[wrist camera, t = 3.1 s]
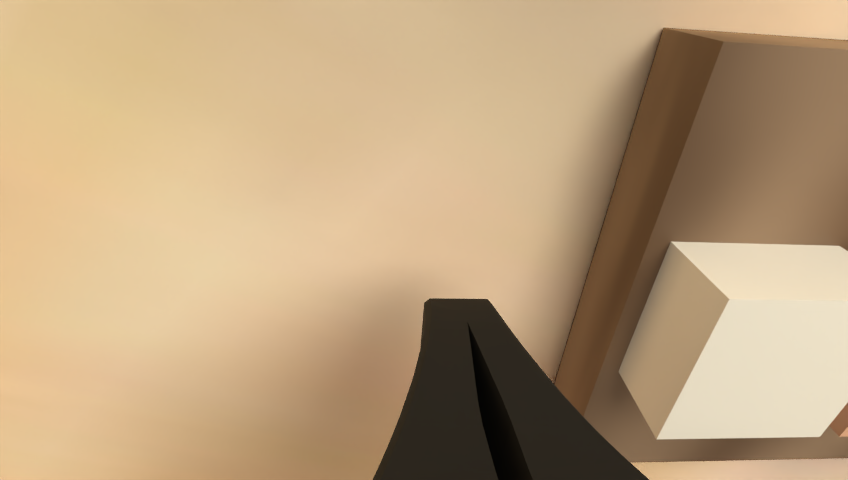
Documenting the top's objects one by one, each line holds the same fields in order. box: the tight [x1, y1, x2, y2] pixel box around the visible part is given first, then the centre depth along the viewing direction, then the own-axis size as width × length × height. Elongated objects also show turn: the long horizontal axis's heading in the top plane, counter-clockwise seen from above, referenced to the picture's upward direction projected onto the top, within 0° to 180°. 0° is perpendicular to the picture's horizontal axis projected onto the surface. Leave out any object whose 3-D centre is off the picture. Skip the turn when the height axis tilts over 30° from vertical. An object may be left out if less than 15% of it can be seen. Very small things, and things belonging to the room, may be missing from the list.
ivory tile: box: [618, 242, 848, 439], centre depth 10 cm, size 4×4×2 cm
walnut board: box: [554, 28, 848, 462], centre depth 12 cm, size 10×12×2 cm
